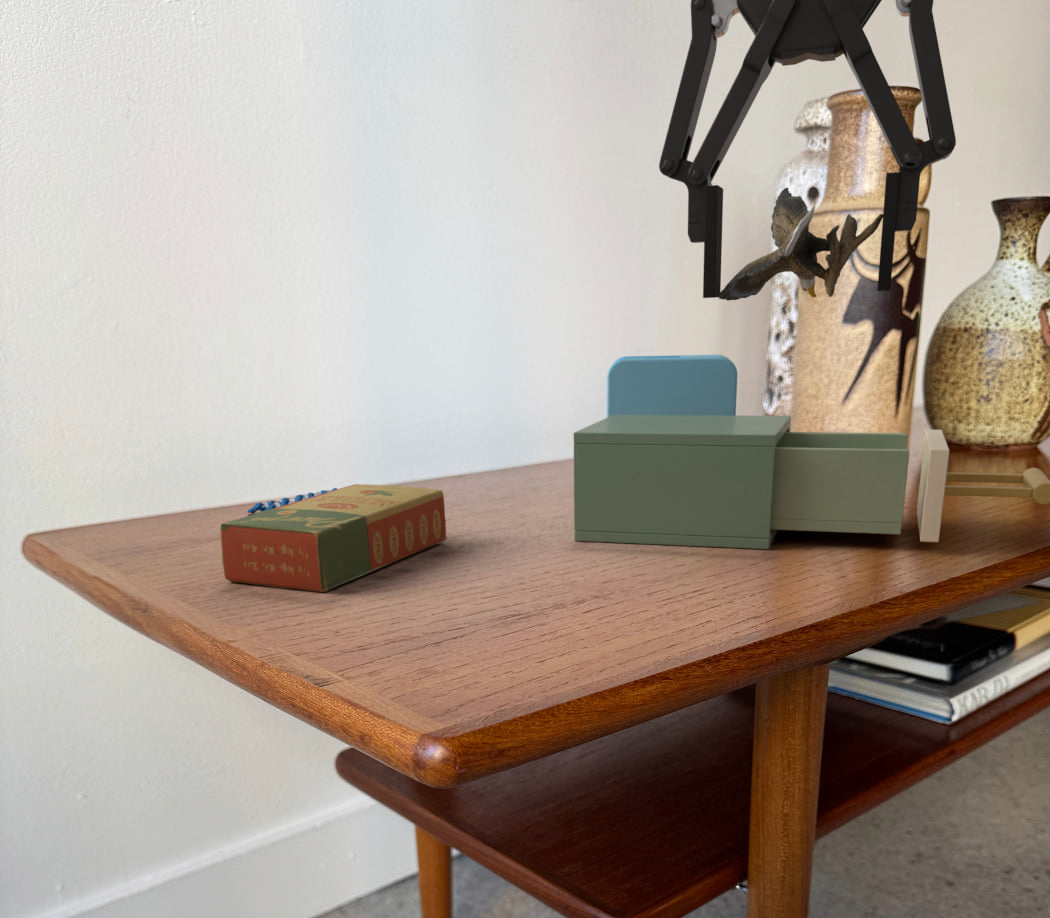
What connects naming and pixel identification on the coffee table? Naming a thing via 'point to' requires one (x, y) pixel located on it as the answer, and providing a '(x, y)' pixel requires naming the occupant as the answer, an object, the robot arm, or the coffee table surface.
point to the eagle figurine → (799, 251)
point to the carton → (332, 536)
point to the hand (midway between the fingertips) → (795, 294)
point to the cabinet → (677, 480)
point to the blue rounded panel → (672, 385)
